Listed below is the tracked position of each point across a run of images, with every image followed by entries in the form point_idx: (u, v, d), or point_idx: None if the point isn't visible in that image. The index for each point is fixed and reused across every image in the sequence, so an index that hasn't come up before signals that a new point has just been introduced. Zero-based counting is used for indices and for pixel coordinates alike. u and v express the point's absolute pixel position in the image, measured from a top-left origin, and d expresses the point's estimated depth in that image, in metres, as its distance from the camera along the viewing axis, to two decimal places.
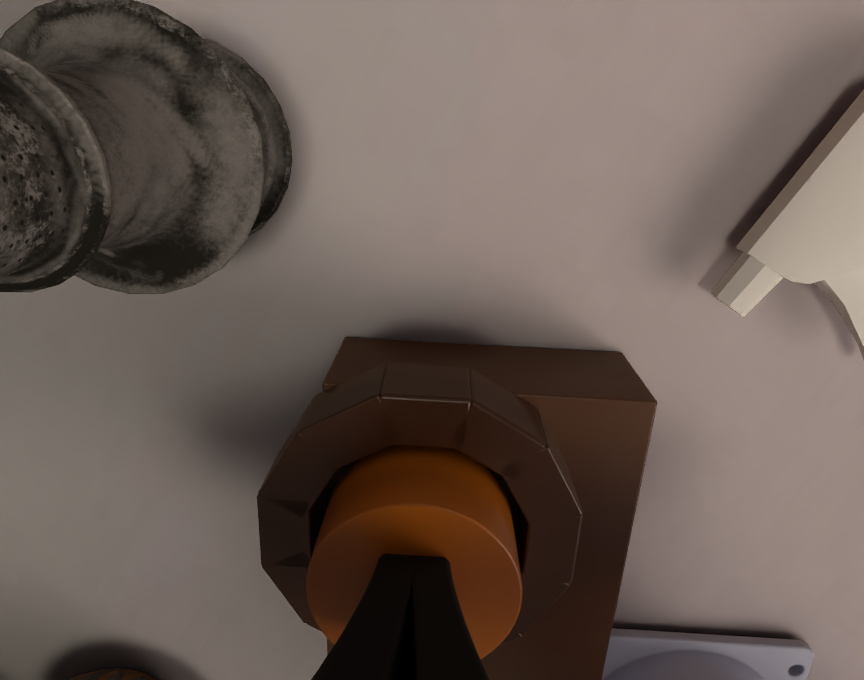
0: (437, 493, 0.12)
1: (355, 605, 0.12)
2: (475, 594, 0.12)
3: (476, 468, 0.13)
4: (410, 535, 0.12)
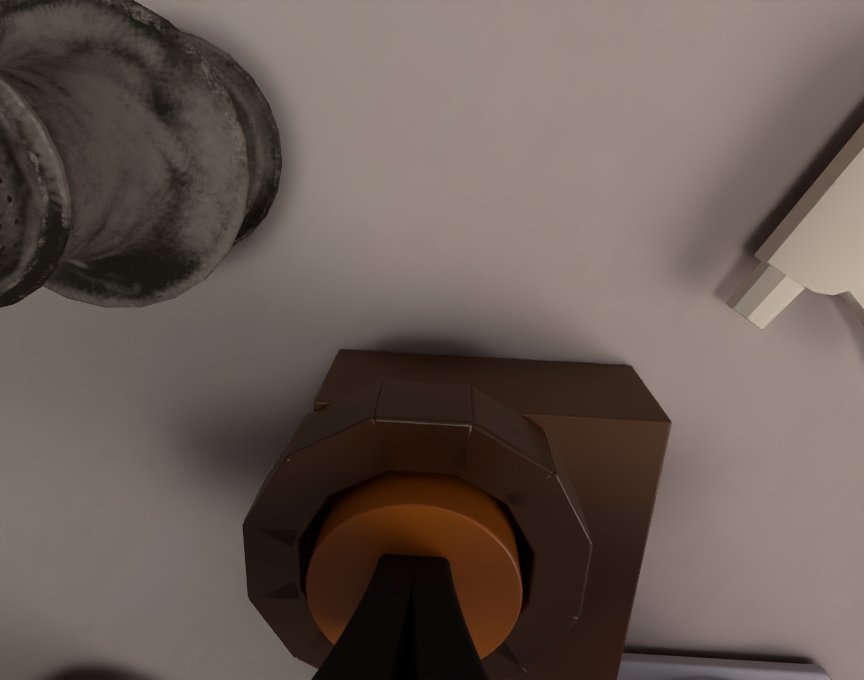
0: (438, 494, 0.12)
1: (355, 606, 0.12)
2: (475, 594, 0.12)
3: None
4: (409, 535, 0.12)
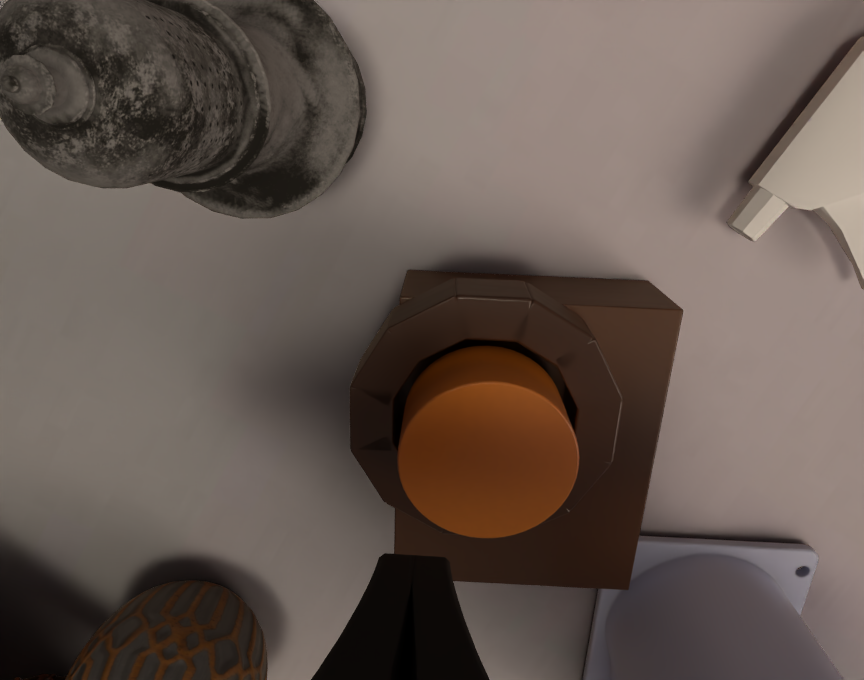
0: (509, 376, 0.14)
1: (438, 474, 0.15)
2: (540, 462, 0.14)
3: (535, 365, 0.16)
4: (487, 408, 0.14)
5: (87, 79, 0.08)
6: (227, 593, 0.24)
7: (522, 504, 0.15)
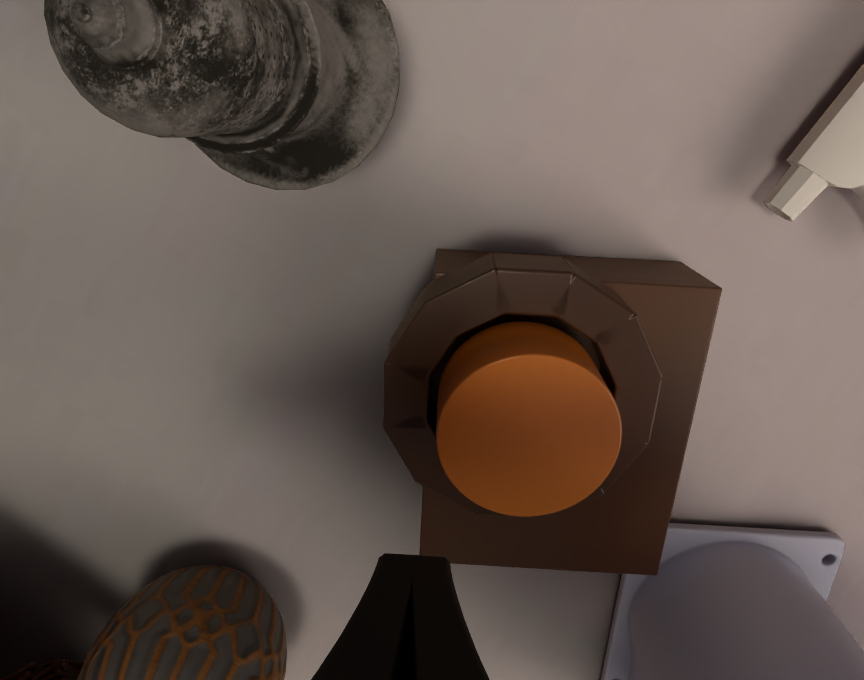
0: (552, 349, 0.14)
1: (477, 450, 0.14)
2: (582, 438, 0.14)
3: (574, 341, 0.15)
4: (529, 382, 0.14)
5: (154, 16, 0.08)
6: (246, 578, 0.23)
7: (562, 481, 0.15)
